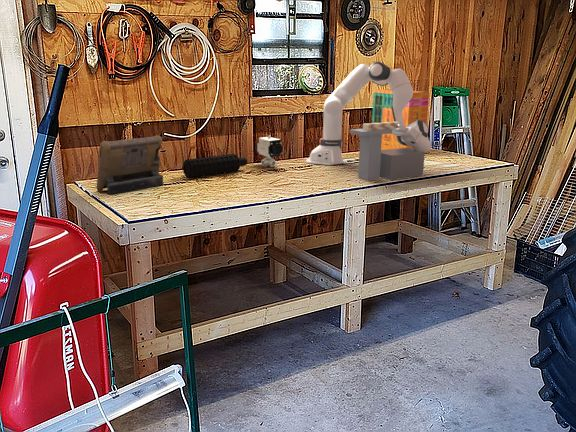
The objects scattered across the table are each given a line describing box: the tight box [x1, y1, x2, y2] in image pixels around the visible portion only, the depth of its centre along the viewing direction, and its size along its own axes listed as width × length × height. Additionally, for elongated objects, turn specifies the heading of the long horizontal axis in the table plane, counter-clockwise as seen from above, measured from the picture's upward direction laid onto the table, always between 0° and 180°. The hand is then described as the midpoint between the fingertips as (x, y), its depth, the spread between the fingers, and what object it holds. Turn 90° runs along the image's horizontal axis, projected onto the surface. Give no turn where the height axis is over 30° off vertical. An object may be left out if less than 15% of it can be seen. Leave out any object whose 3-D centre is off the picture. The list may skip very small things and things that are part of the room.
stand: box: [349, 128, 392, 182], centre depth 298 cm, size 20×10×26 cm, turn 120°
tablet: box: [96, 134, 164, 196], centre depth 272 cm, size 33×14×25 cm, turn 141°
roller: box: [182, 153, 248, 179], centre depth 309 cm, size 38×10×10 cm, turn 129°
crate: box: [380, 148, 426, 181], centre depth 309 cm, size 23×16×13 cm
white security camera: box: [256, 135, 284, 168], centre depth 329 cm, size 18×8×18 cm, turn 35°
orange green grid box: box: [371, 88, 430, 150], centre depth 385 cm, size 34×18×40 cm, turn 35°
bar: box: [362, 122, 401, 131], centre depth 297 cm, size 22×4×3 cm, turn 120°
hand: (392, 124), depth 300 cm, fingers open, 8 cm apart
